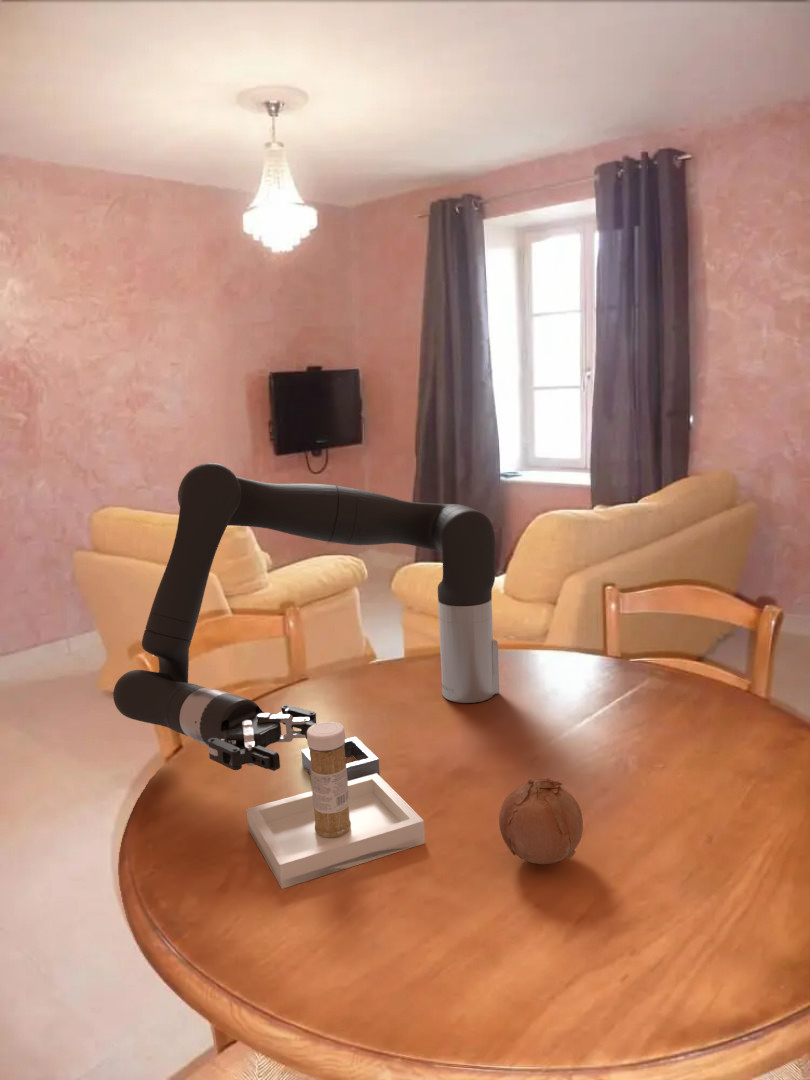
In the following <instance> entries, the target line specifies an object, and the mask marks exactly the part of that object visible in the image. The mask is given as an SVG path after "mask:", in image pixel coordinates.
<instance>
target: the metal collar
mask: <svg viewBox="0 0 810 1080" xmlns="http://www.w3.org/2000/svg"><path fill="white" fill-rule="evenodd" d="M344 749H345V757H348V758H351V757H353V756H354V757H355V758H356V759H357V760H358V761H357V760H356V759H355V758H354V759H355V761H353V762H349V763H346V766H347V780H348V781H350V780H354V779H358V778H361V777H365V776H369V775H372V774H376V773H377V774H378V775H379V776H380V762H379V761H380V759H379V757H377V755H375V754H374V753H373V752H372V751H371V750H370V749H369V748H368V747H367V746H366V745H365V744H364V743H363V742H362V741H361V740H360V739H359V738H358V737H357V736H353V737H349V738H345V745H344ZM300 751H301V761H302V767H303V769H304V770H305V769H306V770H307V771H308V772H307V771H306V770H305V771H306V772H307V773H308V774H309V776H310V775H311V770H310V769H311V762H310V750H309V747H307V748H305V749H301V750H300ZM350 756H351V757H350Z"/></svg>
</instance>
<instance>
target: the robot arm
mask: <svg viewBox="0 0 810 1080" xmlns="http://www.w3.org/2000/svg"><path fill="white" fill-rule="evenodd" d="M177 501H178V505H179V511H178V512H179V513H178V520H177V521H178V522H177V526H176V527H177V529H176V533H175V538H174V540H173V545H172V549H171V551H170V556H169V558H168V561H167V565H166V567H165V570H164V572H163V574H162V577H161V580H160V582H159V585H158V588H157V590H156V594H155V596H154V599H153V602H152V605H151V609H150V612H149V615H148V618H147V621H146V624H145V630H144V632H143V635H142V640H141V647H142V649H143V650H144V651H145V652H147V653H148V654H150V655H152V656H155V657H157V658H158V667H159V668H158V672H156V671H151V670H146V669H145V670H144V669H133V670H129V671H127V672H125V673H124V674H123V675H121V676H120V677H119V679H118V680H117V681H116V683H115V684H114V688H113V693H112V694H113V695H112V698H113V703H114V706H115V708H116V709H117V711H118V712H119V713H120V714H121V715H122V716H124V717H126V718H129V719H131V720H133V721H134V720H135V721H139V722H143V723H147V724H152V725H157V726H161V727H164V728H167V729H171V730H172V731H174V732H176V733H179V734H181V735H184V736H187V737H189V738H191V739H193V740H194V741H196V742H198V743H200V744H201V745H205V746H207V747H208V754H209V755H208V756H209V759H210V760H212V761H214V762H216V763H218V764H221V765H222V766H224V767H227V768H228V769H230V770H233V771H239V770H241V769H242V768H243V765H247V766H249V767H253V766H258V767H260V768H262V769H264V770H270V771H273V772H275V771H277V770H279V769H280V768H281V763H280V762H281V760H280V754H279V752H278V751H275V750H272V749H270V748H267V747H268V746H270V745H271V744H275V743H290V742H292V741H293V740H294V739H306V740H307V730H308V728H309V727H311V726H312V725H314V724H317V712H316V711H312V710H309V709H306V708H301V707H299V706H298V707H297V706H294V705H290V704H283V705H281V707H280V708H281V712H279V713H277V714H275V713H274V712H273V713H270V712H264V711H263V710H262V708H260V706H259V705H258V704H257V703H256V702H255V701H253V700H251V699H249V698H246V697H242V696H239V695H236V694H233V693H230V692H226V691H223V690H221V689H214V688H213V689H212V688H207V687H204V686H201V685H198V684H195V683H192V682H191V683H190V682H189V666H190V665H189V664H190V663H189V662H190V659H189V658H190V655H189V653H190V647H191V643H192V639H193V637H194V633H195V630H196V626H197V622H198V620H199V616H200V612H201V608H202V604H203V599H204V595H205V593H206V592H205V591H206V587H207V583H208V579H209V575H210V572H211V568H212V565H213V563H214V558H215V556H216V553H217V551H218V547H219V545H220V543H221V540H222V538H223V536H224V534H225V531H226V529H227V527H230V526H231V527H232V526H233V527H251V528H260V529H261V528H262V529H268V530H272V531H276V532H279V533H284V534H289V535H292V536H297V537H300V538H306V539H311V540H316V541H322V542H326V543H327V542H328V543H334V544H342V545H348V546H373V545H375V546H376V545H377V546H378V545H385V544H386V545H387V544H389V545H390V544H402V545H409V546H413V547H419V548H422V549H428V550H431V551H434V552H437V553H440V554H442V579H441V581H440V582H439V584H438V585H437V603H438V604H437V605H438V609H437V610H438V626H439V627H438V629H439V649H440V652H439V653H440V666H441V667H440V670H441V694H442V696H443V698H444V699H446V700H448V701H451V702H454V703H461V704H470V703H471V704H472V703H473V704H474V703H480V702H485V701H486V700H489V699H491V698H493V696H494V695H497V694H500V670H499V669H500V668H499V667H500V666H499V665H500V663H499V659H500V658H499V641H498V640H497V639H494V626H493V602H492V601H493V598H492V597H493V595H492V593H493V592H492V591H493V587H494V584H495V579H496V534H495V529H494V526H493V524H492V522H491V520H490V519H489V518H488V516H487V515H486V514H484V513H483V512H481V511H479V510H477V509H474V508H472V507H470V506H468V505H463V504H458V503H455V504H454V503H431V502H430V503H428V502H414V501H407V500H403V499H398V498H395V497H391V496H388V495H385V494H381V493H376V492H373V491H372V492H371V491H368V490H363V489H358V488H352V487H346V486H341V485H333V484H323V483H321V484H320V483H270V482H269V483H268V482H264V481H263V482H262V481H257V480H253V479H249V478H244V477H241V476H237V475H235V473H234V472H233V471H232V470H231V469H229V468H228V467H227V466H225V465H223V464H220V463H215V462H206V463H202V464H199V465H197V466H195V467H193V468H191V469H190V470H189V471H188V472H187V473H186V474H185V475H184V477H183V478H182V480H181V482H180V484H179V487H178V491H177ZM281 725H284V726H285V733H286V734H282V727H281ZM294 728H295V729H299V730H296V731H295V730H294Z"/></svg>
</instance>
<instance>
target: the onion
mask: <svg viewBox="0 0 810 1080" xmlns="http://www.w3.org/2000/svg"><path fill="white" fill-rule="evenodd" d="M562 785H563V783H562V782H560V781H559V780H552V779H551V778H550V777H549V778H538V779H536V780H532V779H531V780H528V781H526V782H525V783H522V784H521V785H518V786H517V787H516V788H515V789H513V790H512V791H510V792H509V793H508V794H507V796H506V797H505V799H504V801H503V802H502V804H501V807H500V812H499V816H498V817H499V818H498V820H499V821H498V822H499V823H498V824H499V831H500V834H501V836H502V838H503V839H502V840H503V842H504V843H505V845H506V846H507V848H508V849H509V851H510V853H512V855H513V856H514V857H515V856H518V858H520V859H521V860H524V861H525V862H529V863H531V864H535V865H536V866H538V865H549V864H555V863H560V861H562V860H564V859H566V858H567V859H568V860H569V859H570V860H571V859H572V858H573V857H574V855H575V854H576V851H575V850H576V848H578V846H579V844H580V842H581V839H582V837H583V830H584V828H583V827H584V824H583V823H584V821H583V813H582V810H581V808H580V806H579V803H578V801H577V800H576V799H575V797H574V796H573V794H572V793H570V792H569V791H568V790H567V789H566V788H565V787H563V786H562Z"/></svg>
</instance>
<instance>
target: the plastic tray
mask: <svg viewBox="0 0 810 1080" xmlns="http://www.w3.org/2000/svg"><path fill="white" fill-rule="evenodd" d="M348 795H349V805H348V806H349V820H350V822H351V827H350V829H349V830H348V831H347V832H346V833H345V834H343V835H341V836H337V837H323V836H321V835H319V834H317V833H316V831H315V814H314V807H313V795H312V790H311V791H307V792H303V793H299V794H296V795H292V796H289V797H285V798H280V799H277V800H274V801H271V802H266V803H262V804H258V805H255V806H253V807H247V808H246V817H247V829H248V831H249V834H250V835H251V837H252V838H253V840H254V842H255V844H256V845H257V847H258V849H259V852H260V853H261V854H262V857H263V858H264V860H265V862H266V863H267V866H268V867H269V869H270V871H271V872H272V874H273V876H274V877H275V879H276V881H277V883H278V885H279V886H280V888H281V889H282V890H284V889H286V888H290V887H292V886H296V885H300V884H302V883H305V882H308V881H312V880H315V879H319V878H321V877H324V876H327V875H330V874H334V873H336V872H340V871H342V870H345V869H348V868H353V867H355V866H358V865H359V866H360V865H361V864H365V863H368V862H372V861H374V860H377V859H380V858H383V857H387V856H390V855H393V854H395V853H398V852H402V851H405V850H409V849H411V848H415V847H417V846H421V845H425V844H426V839H425V838H426V836H425V820H424V819H423V818H422V817H421V816H420V815H419V814H418V813H417V812H416V811H415V810H414V809H413V808H412V807H411V806H410V805H409V804H408V803H407V802H406V801H405V800H404V799H403V798H402V797H401V796H400V795H399V794H398V793H397V792H396V790H394V789H393V788H392V787H391V786H390V785H389V783H387V782H386V780H384V779H383V778H382V777H381V776H380V775H378V774H377V773H376V774H372V775H369V776H365V777H361V778H358V779H354V780H350V781H348Z"/></svg>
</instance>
